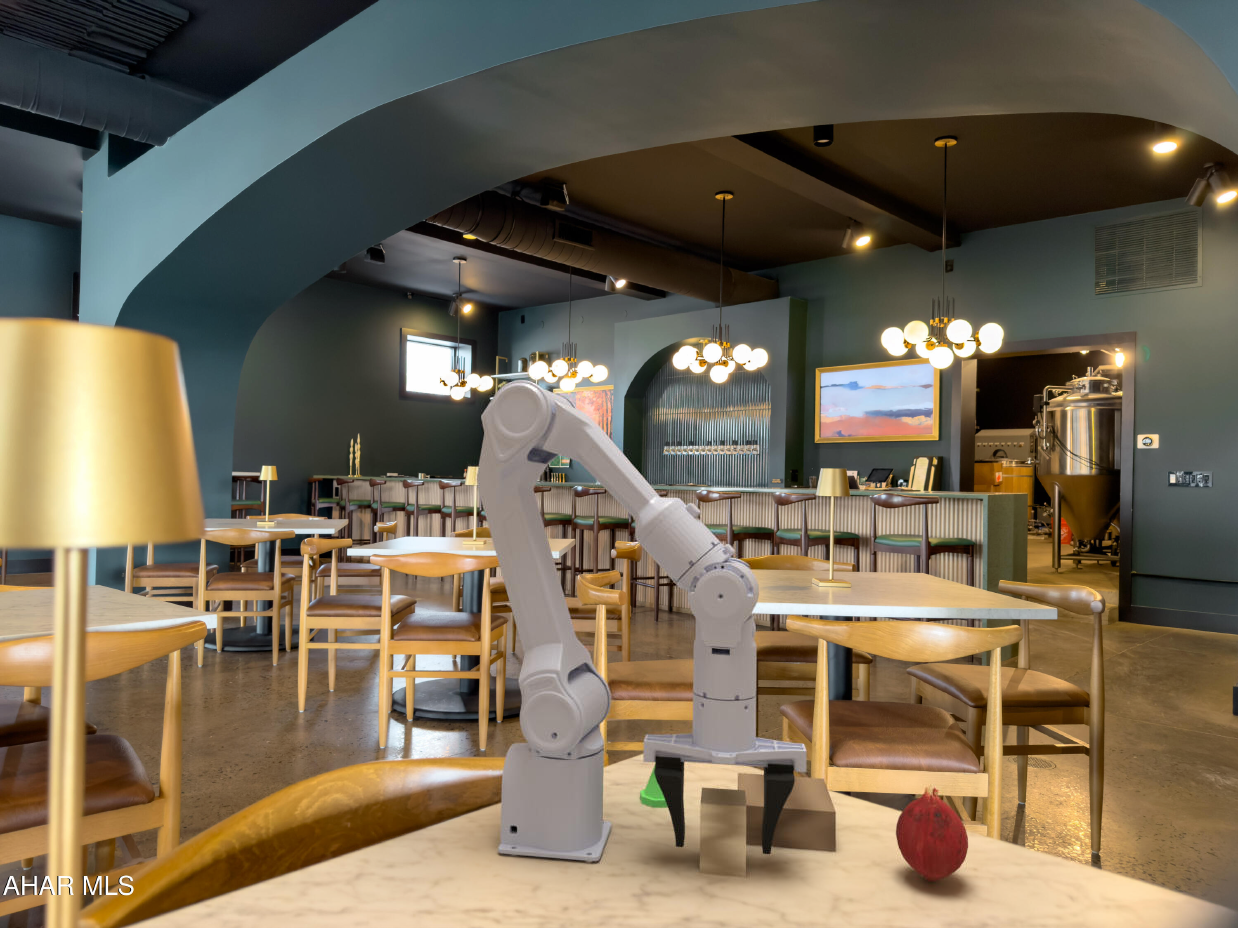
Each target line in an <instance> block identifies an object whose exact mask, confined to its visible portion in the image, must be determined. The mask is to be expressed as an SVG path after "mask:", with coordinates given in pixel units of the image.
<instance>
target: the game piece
mask: <svg viewBox="0 0 1238 928" xmlns="http://www.w3.org/2000/svg"><path fill="white" fill-rule="evenodd" d="M654 771H655V765H654V767H653V769H652V771H651V773H650V775H649V778H648V780H647V783H646V786H645V788H644V789H641V790H639V791H640V792H639V794H640V795H639V796H640V797H639V799H640V801H641V804H642V805H645V806H647V807H650V808H654V809H656V808H657V809H658V808H661V809H662V808H663V809H664V808H665V809H666V808H668V806H667V803H666V801H665V798H664V796H663V793H662V791H661V789H660V787H659V785H658V783H657V780H656V777H655V774H654Z"/></svg>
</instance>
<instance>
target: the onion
mask: <svg viewBox="0 0 1238 928" xmlns="http://www.w3.org/2000/svg"><path fill="white" fill-rule="evenodd" d="M938 793H939V789H937V788H936V787H934V786H932V785H929V786H928V787H927V786H926V787H925V788H924V793H923V794H922V796H921V797H919V798H916V799H915V800H912V801H911V802H910V803H908V804H907V805H906V807H905V808H904V809H903V810H902V811H901V813H900V815H899V816H898V819H897V823H896V828H895V837H896V842H897V846H898V849H899V851H900V853H901V855H902V857H903V859H904V860H905V861H906V863H907V864H908V865H909V866H910V867H911V868H912V870H914V872H916V873H917V874H918V875H920V876H921V877H922V878H924V879H925V880H926V881H927V882H930V883H936V882H939V881H940V880H942V879H945V878H946V877H949V876H950V875H952V874H954V873H955V872H956V871H957V870H959V869H960V868H961V866H962V865H963V863H964V862H965V860H966V858H967V854H968V850H969V837H968V833H967V830H966V827H965V825H964V823H963V821H962V819H961V818H960V816H959V815H958V814H957V813H956V811H955V810H954V809H953V808H952V807H951V806H950V805H949V804H948V803H946V802H945V801H944V800H942V799H941V798H940V796H939V794H938Z"/></svg>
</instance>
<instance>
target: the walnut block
mask: <svg viewBox="0 0 1238 928" xmlns="http://www.w3.org/2000/svg"><path fill="white" fill-rule="evenodd" d="M794 777H795V783H794V786H793V789H792V792H791V793H790V795H789V797H788V799H787V801H786V803H785V805H784V807H783V809H782V811H781V814H780V816H779V819H778V822H777V825H776V828H775V832H774V836H773V841H772V847H771V848H779V849H781V848H782V849H794V850H806V851H818V852H819V851H821V852H829V853H831V852H832V853H836V851H837V850H836V849H837V848H836V847H837V846H836V845H837V844H836V843H837V842H836V841H837V839H836V835H837V833H836V831H837V829H836V824H837V823H836V821H837V818H836V817H837V816H836V815H837V811H836V810H835V806H834V803H833V801H832V798H831V794H830V792H829V790H828V787H827V785H826V781H825V778H821V777H820V778H819V777H818V778H817V777H804V776H794ZM737 790H745V795H746V846H753V847H755V846H756V847H762V823H763V811H764V774H760V773H759V774H758V773H745V772H743V773H742V772H737Z"/></svg>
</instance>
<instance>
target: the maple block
mask: <svg viewBox="0 0 1238 928" xmlns="http://www.w3.org/2000/svg"><path fill="white" fill-rule="evenodd" d="M700 794H701V795H700V807H699V808H700V811H699V814H700V815H699V816H700V817H699V825H700V826H699V874H701V875H702V874H703V875H714V876H715V875H716V876H727V877H737V878H738V877H739V878H746V877H747V845H746V795H745V790H738V789H733V788H732V789H730V788H729V789H728V788H718V787H717V788H715V787H701V793H700Z"/></svg>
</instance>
